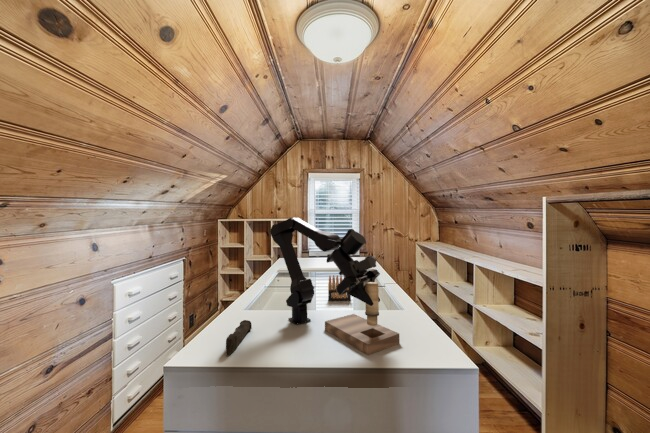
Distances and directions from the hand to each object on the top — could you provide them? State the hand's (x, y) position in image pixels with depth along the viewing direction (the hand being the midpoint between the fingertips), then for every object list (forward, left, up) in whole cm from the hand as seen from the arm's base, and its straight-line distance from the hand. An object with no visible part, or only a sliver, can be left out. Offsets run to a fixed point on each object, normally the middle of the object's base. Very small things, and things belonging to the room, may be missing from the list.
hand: (375, 303), depth 85 cm
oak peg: (-1, 0, -7) cm, 7 cm away
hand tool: (-26, -34, -13) cm, 45 cm away
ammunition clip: (-44, +19, -13) cm, 49 cm away
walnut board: (-7, 0, -12) cm, 14 cm away
